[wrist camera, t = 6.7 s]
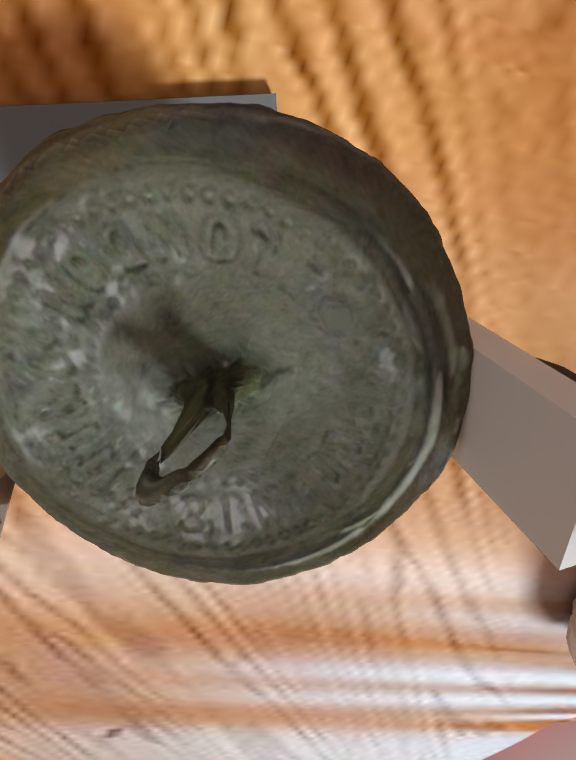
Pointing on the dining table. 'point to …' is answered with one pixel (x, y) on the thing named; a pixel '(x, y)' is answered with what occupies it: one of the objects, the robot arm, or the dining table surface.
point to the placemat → (79, 120)
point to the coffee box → (4, 495)
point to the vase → (572, 633)
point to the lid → (223, 340)
